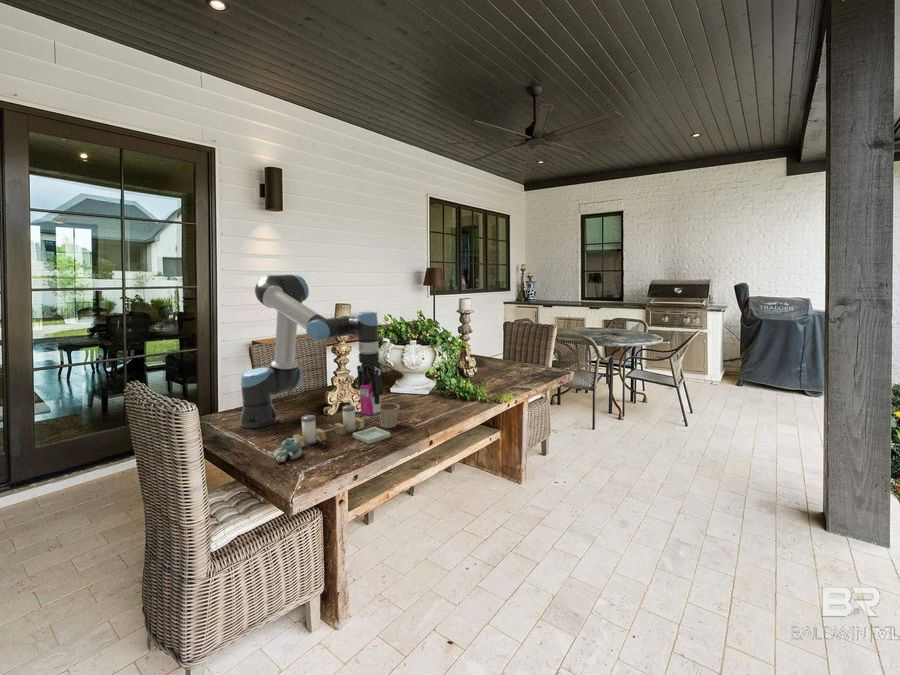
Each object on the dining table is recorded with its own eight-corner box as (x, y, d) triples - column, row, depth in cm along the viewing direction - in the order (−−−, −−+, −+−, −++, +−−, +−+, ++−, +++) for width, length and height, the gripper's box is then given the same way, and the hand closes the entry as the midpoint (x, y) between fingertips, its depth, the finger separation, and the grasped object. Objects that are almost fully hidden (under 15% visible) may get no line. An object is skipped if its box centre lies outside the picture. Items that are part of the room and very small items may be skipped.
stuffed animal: (263, 449, 157) (279, 431, 169) (266, 467, 160) (282, 448, 171) (293, 450, 156) (307, 432, 167) (296, 468, 159) (309, 449, 170)
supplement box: (371, 410, 185) (370, 382, 183) (381, 413, 181) (380, 385, 179) (360, 413, 181) (359, 385, 179) (370, 416, 177) (369, 388, 175)
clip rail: (289, 442, 178) (288, 433, 178) (353, 423, 199) (352, 416, 198) (299, 447, 173) (299, 438, 172) (364, 428, 193) (363, 420, 192)
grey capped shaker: (340, 430, 191) (339, 407, 189) (351, 427, 194) (350, 404, 193) (347, 433, 187) (346, 409, 186) (358, 430, 191) (357, 407, 189)
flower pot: (403, 427, 194) (403, 407, 193) (383, 431, 189) (382, 411, 188) (394, 421, 202) (393, 402, 201) (374, 425, 197) (373, 405, 196)
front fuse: (300, 442, 178) (298, 417, 177) (312, 438, 182) (311, 414, 180) (306, 445, 174) (305, 420, 173) (319, 441, 178) (317, 417, 177)
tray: (352, 437, 182) (352, 433, 182) (374, 430, 190) (374, 426, 190) (368, 444, 175) (368, 439, 175) (390, 437, 182) (390, 432, 182)
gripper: (346, 350, 181) (349, 407, 185) (375, 356, 168) (377, 417, 171) (362, 348, 187) (364, 403, 190) (391, 353, 173) (393, 412, 177)
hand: (370, 410), depth 181 cm, fingers closed on supplement box, 6 cm apart
